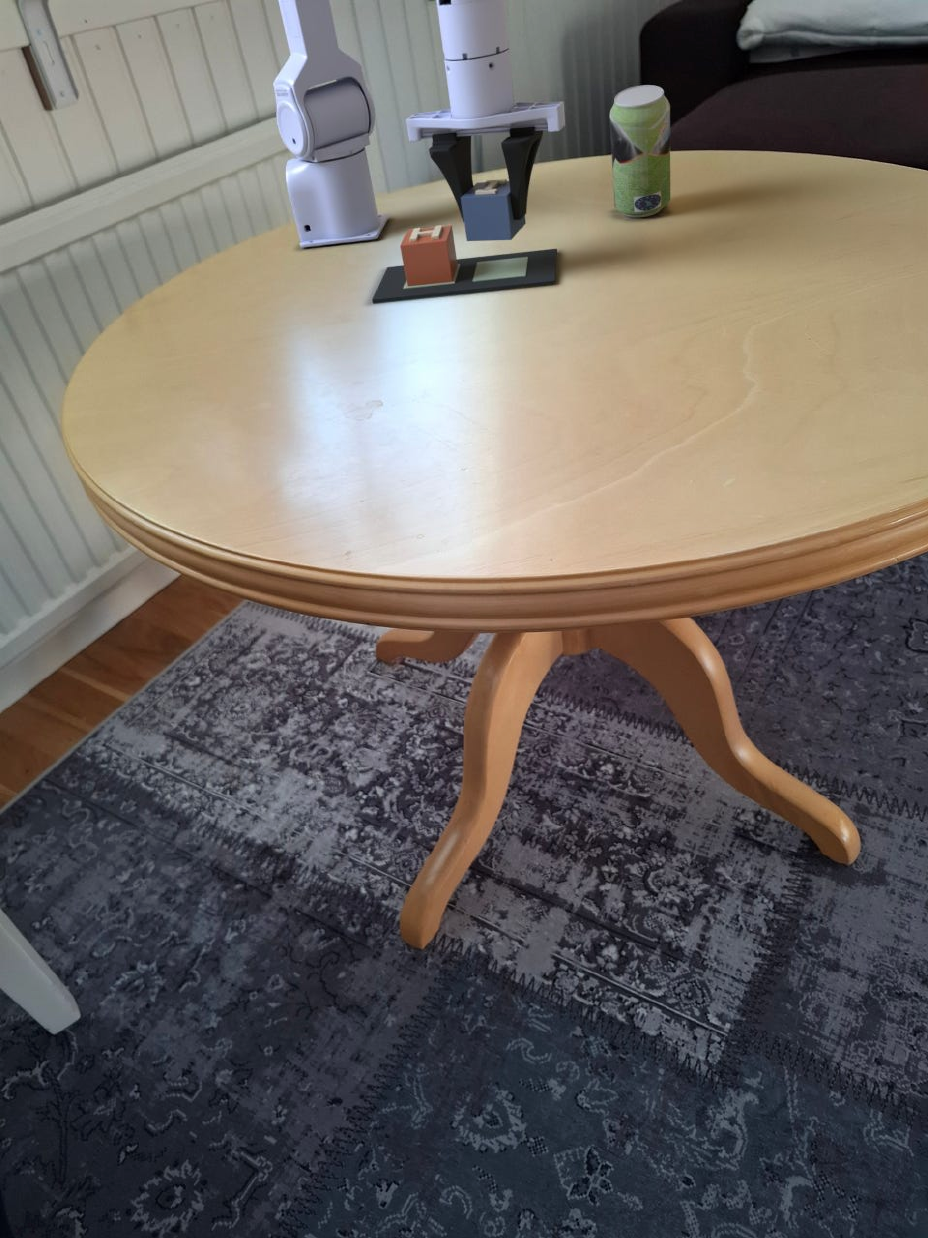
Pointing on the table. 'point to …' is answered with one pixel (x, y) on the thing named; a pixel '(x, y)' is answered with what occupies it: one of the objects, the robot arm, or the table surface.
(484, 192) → the blue cube
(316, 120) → the robot arm
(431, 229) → the red letter block
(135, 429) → the table surface
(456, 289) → the word mat
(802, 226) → the table surface
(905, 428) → the table surface
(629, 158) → the beverage can
